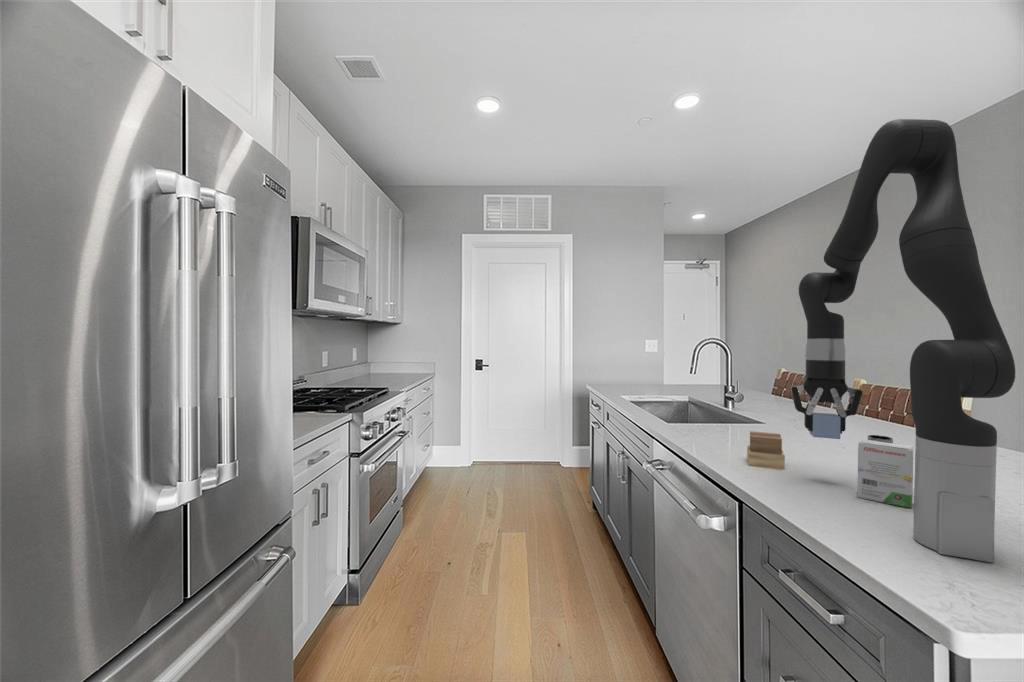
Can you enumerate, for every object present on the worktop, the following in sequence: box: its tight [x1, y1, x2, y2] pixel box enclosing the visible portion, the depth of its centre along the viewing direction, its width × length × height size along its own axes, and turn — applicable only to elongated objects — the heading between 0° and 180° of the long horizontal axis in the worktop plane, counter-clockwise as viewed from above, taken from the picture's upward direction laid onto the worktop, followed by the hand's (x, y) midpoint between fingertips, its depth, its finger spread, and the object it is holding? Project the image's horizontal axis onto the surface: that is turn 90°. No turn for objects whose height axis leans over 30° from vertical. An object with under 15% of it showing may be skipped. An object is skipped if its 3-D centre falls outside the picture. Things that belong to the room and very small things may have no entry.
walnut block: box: [749, 430, 783, 455], centre depth 117 cm, size 7×7×4 cm
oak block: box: [746, 444, 786, 471], centre depth 117 cm, size 8×8×4 cm
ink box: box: [856, 439, 914, 509], centre depth 92 cm, size 8×5×12 cm, turn 44°
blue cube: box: [809, 412, 841, 440], centre depth 103 cm, size 5×5×5 cm
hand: (824, 431), depth 103 cm, fingers closed on blue cube, 5 cm apart
